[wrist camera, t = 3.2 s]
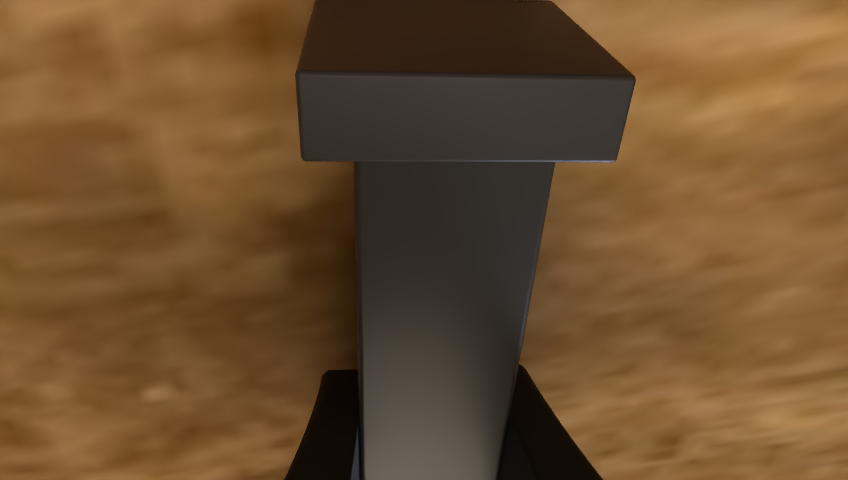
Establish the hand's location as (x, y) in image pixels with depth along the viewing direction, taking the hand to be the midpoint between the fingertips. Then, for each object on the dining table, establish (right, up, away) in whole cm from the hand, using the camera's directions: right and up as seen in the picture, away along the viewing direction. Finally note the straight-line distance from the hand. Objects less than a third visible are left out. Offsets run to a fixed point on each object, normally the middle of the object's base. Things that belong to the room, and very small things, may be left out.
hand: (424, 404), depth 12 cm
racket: (0, -3, +4) cm, 5 cm away
